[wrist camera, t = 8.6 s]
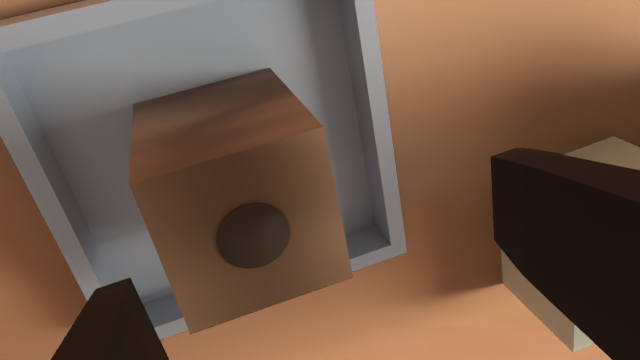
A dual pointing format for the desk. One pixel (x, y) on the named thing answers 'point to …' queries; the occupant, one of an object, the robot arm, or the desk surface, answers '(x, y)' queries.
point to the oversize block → (538, 304)
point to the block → (237, 196)
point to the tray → (171, 77)
